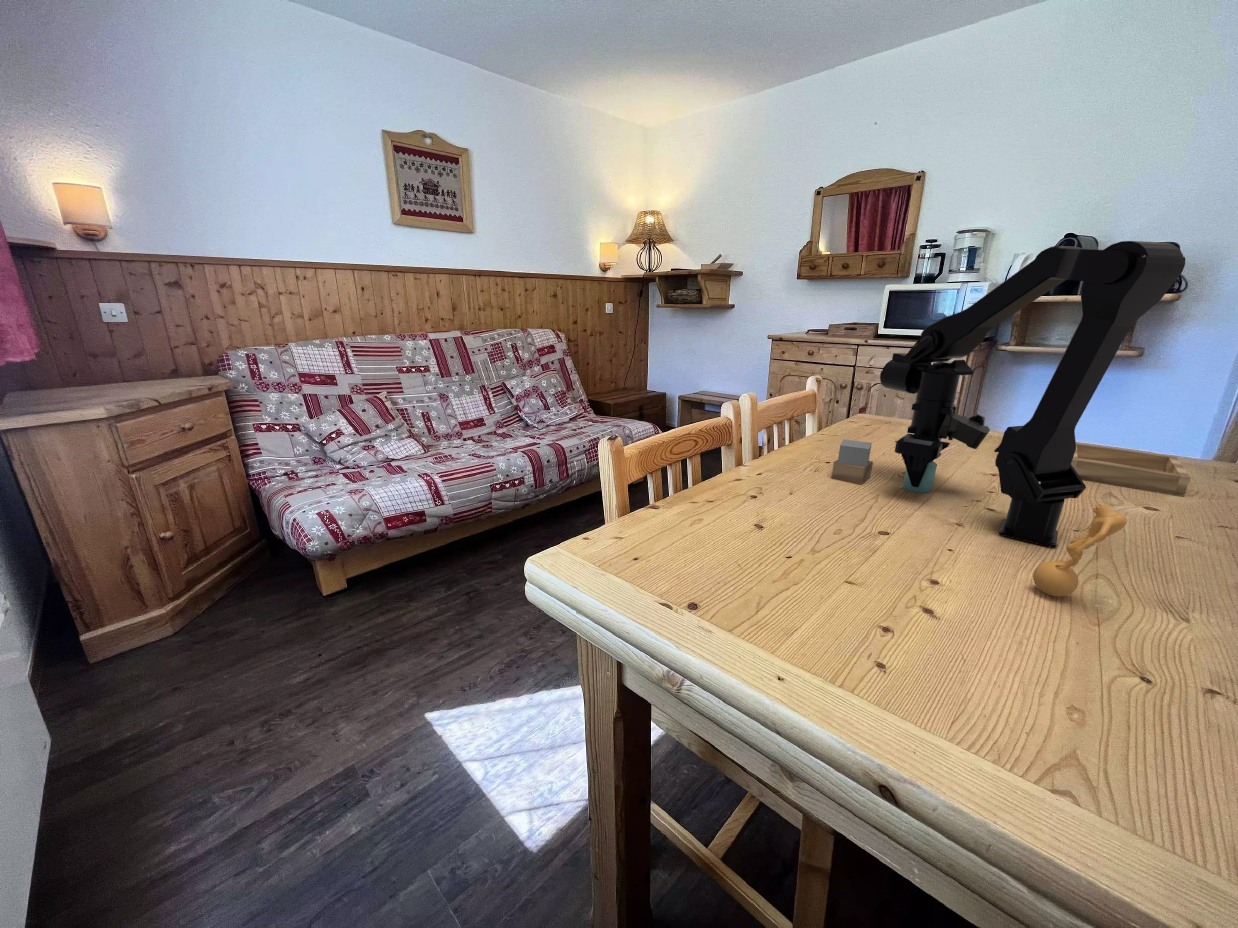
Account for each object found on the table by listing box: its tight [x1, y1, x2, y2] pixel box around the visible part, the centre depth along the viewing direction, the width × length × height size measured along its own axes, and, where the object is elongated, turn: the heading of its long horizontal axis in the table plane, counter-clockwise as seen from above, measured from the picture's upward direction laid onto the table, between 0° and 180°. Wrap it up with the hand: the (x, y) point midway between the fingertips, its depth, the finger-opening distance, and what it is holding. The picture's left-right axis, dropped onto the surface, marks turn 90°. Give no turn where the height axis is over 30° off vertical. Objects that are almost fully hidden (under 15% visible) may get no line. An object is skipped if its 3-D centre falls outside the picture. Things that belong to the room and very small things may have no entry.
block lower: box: [831, 459, 874, 486], centre depth 96 cm, size 6×6×4 cm
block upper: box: [837, 439, 872, 467], centre depth 95 cm, size 5×5×4 cm
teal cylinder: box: [902, 461, 938, 494], centre depth 91 cm, size 5×5×5 cm
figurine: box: [1032, 503, 1128, 597], centre depth 56 cm, size 8×6×12 cm
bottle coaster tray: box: [1071, 442, 1192, 497], centre depth 98 cm, size 16×16×4 cm
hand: (918, 483), depth 91 cm, fingers closed on teal cylinder, 5 cm apart
